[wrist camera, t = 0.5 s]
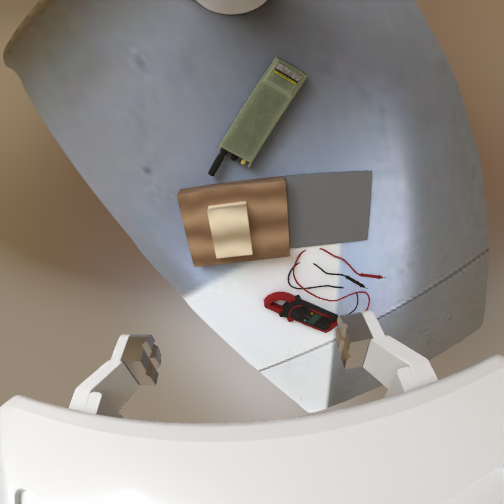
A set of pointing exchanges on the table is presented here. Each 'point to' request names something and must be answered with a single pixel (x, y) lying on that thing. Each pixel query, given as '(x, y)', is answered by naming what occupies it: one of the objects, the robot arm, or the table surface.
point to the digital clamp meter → (309, 304)
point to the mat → (328, 207)
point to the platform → (259, 215)
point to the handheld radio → (260, 112)
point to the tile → (230, 229)
